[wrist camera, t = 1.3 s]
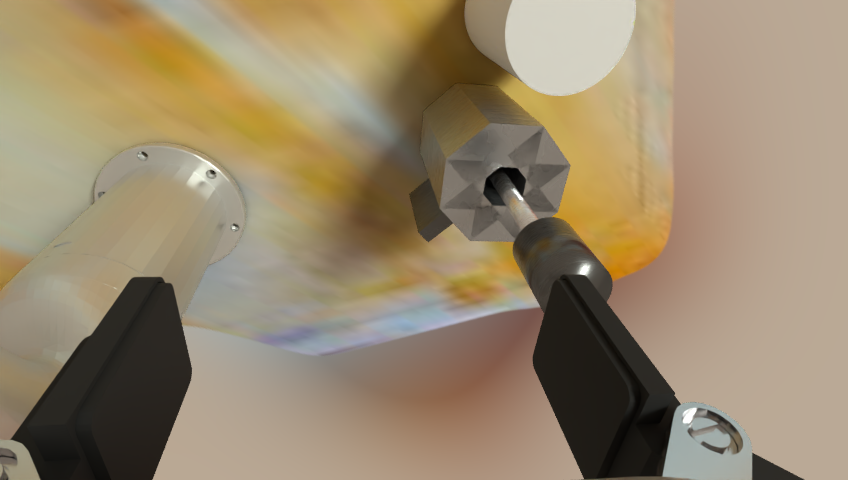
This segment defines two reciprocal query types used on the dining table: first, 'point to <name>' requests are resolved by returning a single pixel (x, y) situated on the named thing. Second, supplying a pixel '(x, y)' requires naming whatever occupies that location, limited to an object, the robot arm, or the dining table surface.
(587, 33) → the light grey cylinder
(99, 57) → the dining table surface
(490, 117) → the octagonal faceted vessel
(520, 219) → the plunger
